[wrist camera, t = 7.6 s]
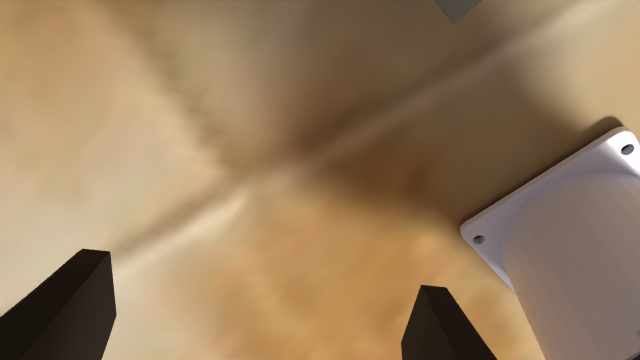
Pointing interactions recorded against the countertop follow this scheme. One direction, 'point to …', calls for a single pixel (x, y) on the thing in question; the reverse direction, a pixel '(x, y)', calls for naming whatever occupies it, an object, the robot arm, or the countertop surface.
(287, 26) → the countertop surface
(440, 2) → the camera body
